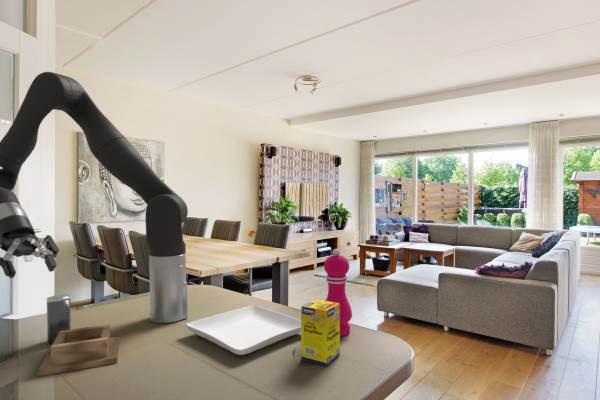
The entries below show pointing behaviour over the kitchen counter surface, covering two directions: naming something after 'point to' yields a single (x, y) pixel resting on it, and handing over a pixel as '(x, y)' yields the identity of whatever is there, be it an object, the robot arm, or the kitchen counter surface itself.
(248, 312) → the salad plate
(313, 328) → the supplement box
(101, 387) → the kitchen counter surface
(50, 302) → the dark grey piece
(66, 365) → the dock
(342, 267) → the pepper mill
